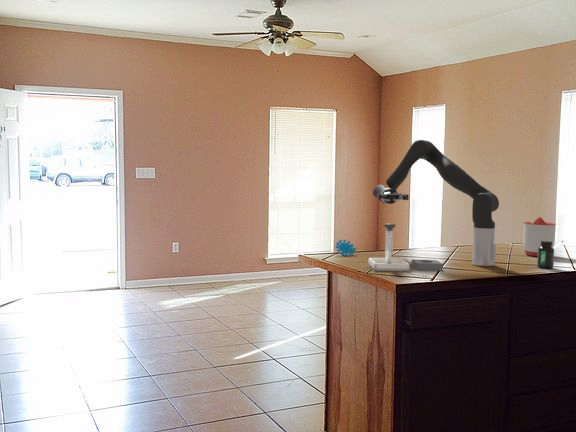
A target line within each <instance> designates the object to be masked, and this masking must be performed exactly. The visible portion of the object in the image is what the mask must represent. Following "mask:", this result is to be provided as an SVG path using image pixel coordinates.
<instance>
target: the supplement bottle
mask: <svg viewBox="0 0 576 432" xmlns="http://www.w3.org/2000/svg"><path fill="white" fill-rule="evenodd" d="M540 245H541V247H539V248H538V256H537V257H536V258H537V262H536V263H537V264H536V266H537V268H538V267H539V269H545V270H551V269H553V268H554V265H555V264H554V262H555V260H554V259H555V249H554V247H553V248H552V242H551V241H541V244H540Z"/></svg>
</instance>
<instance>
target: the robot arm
mask: <svg viewBox="0 0 576 432" xmlns="http://www.w3.org/2000/svg"><path fill="white" fill-rule="evenodd" d="M420 159H421V160H424V161H427V162H428V163H429V164H431V165H432V166H433V167H434V168H435V169H436V171H437V173H438V174H439V175H440V177H441V179H443V180H444V181H445V182H446V183H447V184H448V185H449V186H451V187H452V188H453V189H455V190H457V191H458V192H461V193H463V194H466V195H467V196H469V197H470V198H471V199H472V206H471V207H472V213H471V214H472V217H471V218H472V222H473V237H472V238H473V239H472V259H471V264H472V265H474V266H479V267H495V265H496V248H497V247H496V244H495V235H496V234H495V231H496V223H495V221H494V220H493V216H492V214H493V213H494V212H496V211H497V210H498V209H499V206H500V200H499V198H498V197H497V195H496V194H495V193H493V192H492V191H490V190H488V189H487V188H485V187H484V186H483V185H482V184H480V183H478V182H477V181H476V180H475V179H474V178H473V177H472V176H471V175H469V174H468V173H467V171H465V170H464V169H463V168H461V167H460V166H459V164H456V163H455V162H454V161H452V160H451V159H450V158H449V157H447V156H445V155H444V154H443V153H442V152H441V151H440V150H439V149H438V148H437V147H436V146H435V145H434V144H433V142H431V141H429V140H425V139H417V140H415V141H413V143H412V144H411V146H410V147H409V149H408V151H407V152H406V153H405V155H404V157H403V158H402V160H400V161H401V162H400V163H399V164H398V166H397V167H396V168H395V169H394V171H392V172H391V174H390V175H389V176H388V178H387V179H385V180H386V181H385V184H386V185H387V186H388V187H386V186H384V185H383V184H378V185H376V186H375V187H374V188H373V190H372V195H373V196H374V198H376V199H377V200H379V201H380V202H381V203H383V204H386V205H387V204H389V205H393V204H395V203H396V202H397V201H398V202H400V201H409V194H408V193H407V194H406V193H403V194H402V193H401V192H400V193H399V192H398V191H397V190H398V188H399V187H400V186H401V185H402V184H403V183H404V181H405V180H406V179H407V177H408V175H409V173H410V170H411V168H412V167H413V165H414V164H415V163H417V162H418V160H420Z"/></svg>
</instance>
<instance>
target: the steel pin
mask: <svg viewBox="0 0 576 432" xmlns="http://www.w3.org/2000/svg"><path fill="white" fill-rule="evenodd" d="M383 228H385V239H384V240H385V243H384V247H385V248H384V249H385V250H384V258H385V264H392V258H393V251H394V250H393V247H394V245H393V243H394V228H396V224H395V223H384V224H383Z"/></svg>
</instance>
